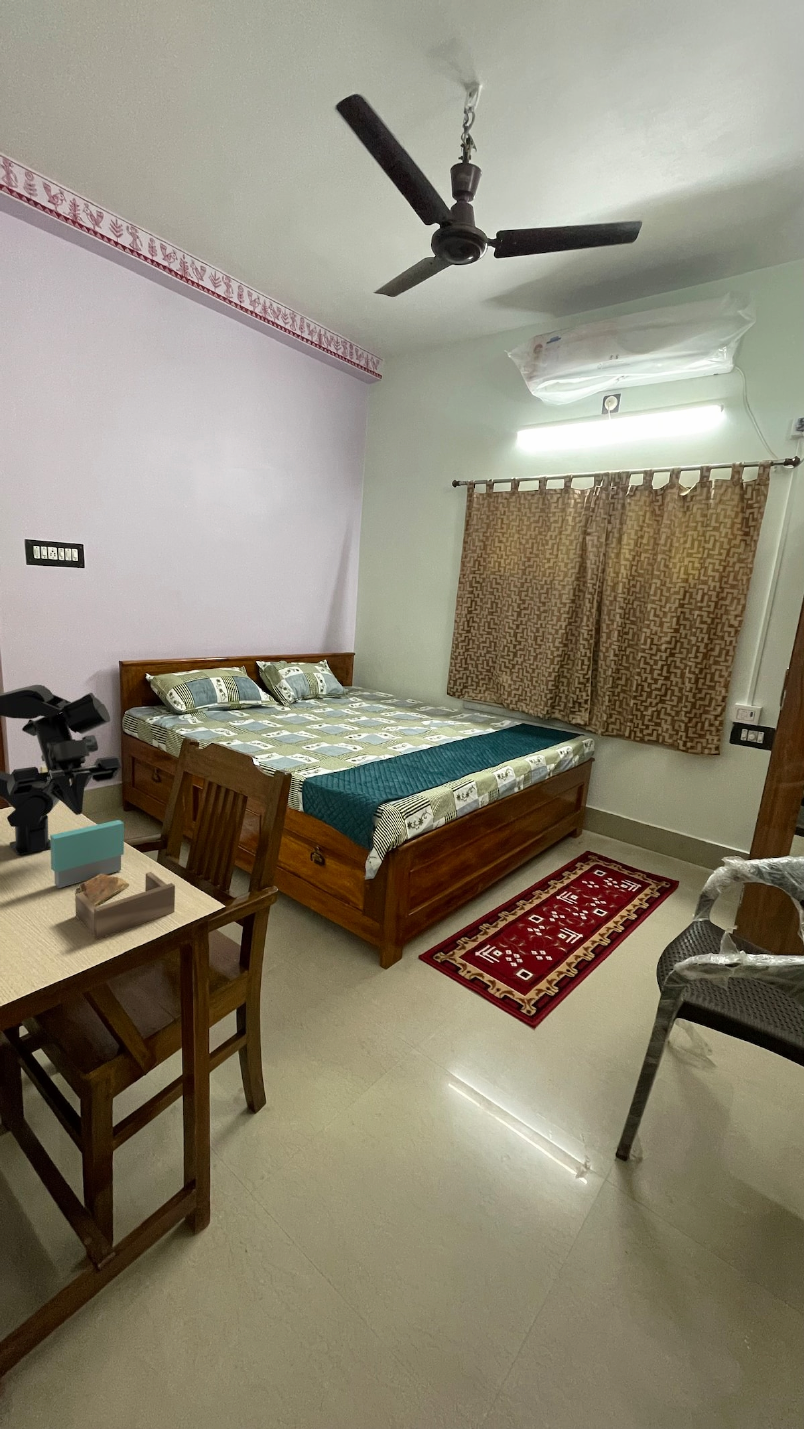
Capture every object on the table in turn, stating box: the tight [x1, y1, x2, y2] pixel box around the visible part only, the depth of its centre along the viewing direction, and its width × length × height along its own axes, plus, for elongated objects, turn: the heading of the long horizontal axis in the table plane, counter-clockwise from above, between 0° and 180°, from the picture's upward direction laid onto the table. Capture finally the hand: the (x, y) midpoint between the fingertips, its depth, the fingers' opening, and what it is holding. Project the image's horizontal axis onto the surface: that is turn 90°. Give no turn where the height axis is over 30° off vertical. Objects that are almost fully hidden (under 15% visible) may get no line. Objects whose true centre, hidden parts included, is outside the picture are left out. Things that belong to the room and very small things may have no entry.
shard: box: [78, 874, 130, 907], centre depth 102 cm, size 11×8×2 cm
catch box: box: [74, 871, 176, 941], centre depth 97 cm, size 9×13×5 cm
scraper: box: [49, 819, 125, 889], centre depth 106 cm, size 2×12×10 cm, turn 139°
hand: (79, 813), depth 108 cm, fingers closed
